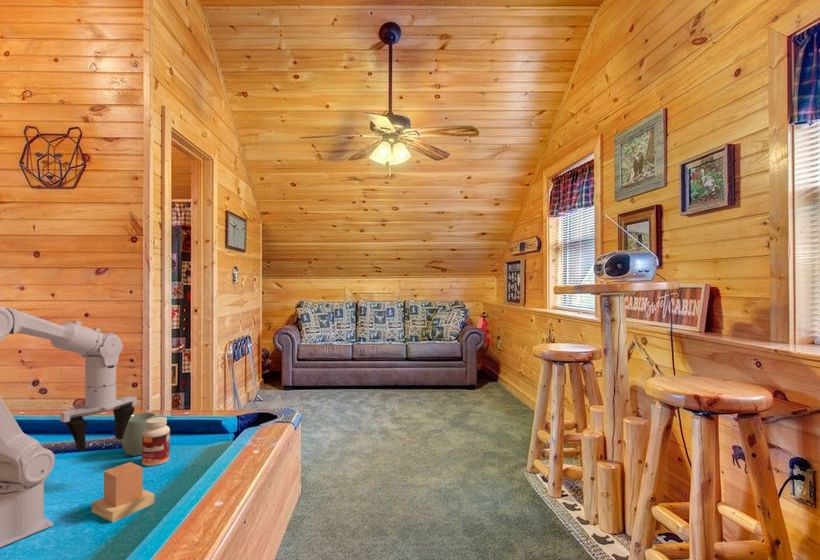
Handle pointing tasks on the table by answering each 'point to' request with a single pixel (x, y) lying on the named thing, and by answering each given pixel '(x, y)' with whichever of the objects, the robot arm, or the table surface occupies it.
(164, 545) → the table surface
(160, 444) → the pill bottle
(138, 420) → the cup
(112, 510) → the maple slab
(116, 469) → the terracotta block
